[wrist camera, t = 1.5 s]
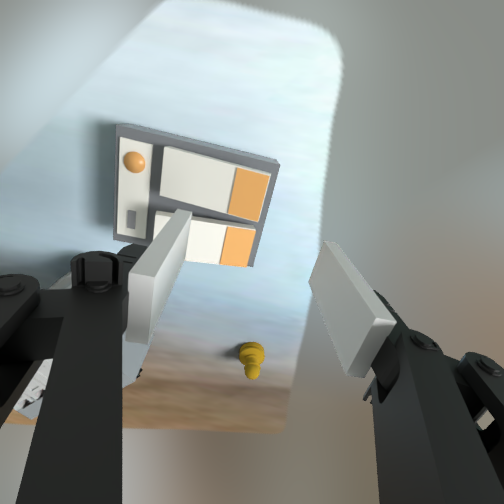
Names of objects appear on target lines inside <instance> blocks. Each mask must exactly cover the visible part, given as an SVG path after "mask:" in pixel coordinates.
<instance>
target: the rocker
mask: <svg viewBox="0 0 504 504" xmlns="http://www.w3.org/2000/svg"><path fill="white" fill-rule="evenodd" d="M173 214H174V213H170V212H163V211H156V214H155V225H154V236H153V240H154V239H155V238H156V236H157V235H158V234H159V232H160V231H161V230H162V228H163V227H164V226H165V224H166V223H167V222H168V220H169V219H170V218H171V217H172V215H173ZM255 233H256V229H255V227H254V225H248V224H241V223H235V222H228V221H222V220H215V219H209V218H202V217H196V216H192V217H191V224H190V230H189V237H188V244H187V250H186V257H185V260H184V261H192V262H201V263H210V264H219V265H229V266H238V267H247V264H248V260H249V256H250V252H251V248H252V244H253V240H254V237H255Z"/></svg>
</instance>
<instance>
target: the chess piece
mask: <svg viewBox="0 0 504 504" xmlns="http://www.w3.org/2000/svg"><path fill="white" fill-rule="evenodd" d="M264 357H265V356H264V349H263V347H262V346H261V345H260V344H259V343H256V342H248V343H245V344H244V345H242V346H241V348H240V352H239V359H240V362H241V363H242V364H243V365H245V367H244V370H245V375H246V376H247V378H249V379H252V380H253V379H256V378H257V377H258V376H259V373H260V364H261V363H262V362H263V361H264Z"/></svg>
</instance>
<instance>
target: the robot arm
mask: <svg viewBox="0 0 504 504" xmlns="http://www.w3.org/2000/svg"><path fill="white" fill-rule="evenodd" d="M191 217H192V212H190V211H186V210H181V209H177V210H176V211H175V213H174V214H173V215H172V217H171V218H170V219H169V220H168V222H167V223H166V224H165V226H164V227H163V228H162V230H161V231H160V232H159V234H158V235H157V236H156V238H155V239H154V240H153V241H152V243H151V244H150V245H149V247H148V246H143V245H138V244H131V245H128V246H126V247H123V248H122V249H121V250H120V251H119V252H118V253H117V254H114V253H110V252H104V251H90V252H86V253H81V254H79V255H77V256H75V257H74V258H73V259H72V260H71V281H72V287H71V288H70V289H47V290H40V286H39V282H38V280H37V279H35V278H34V277H32V276H28V275H23V274H7V275H1V276H0V428H1V426H2V425H3V423H4V422H5V420H6V419H7V417H8V416H9V414H10V413H11V411H12V409H13V408H14V406H15V405H16V403H17V402H18V400H19V399H20V397H21V395H22V394H23V392H24V391H25V389H26V388H27V386H28V385H29V383H30V381H31V380H32V378H33V377H34V375H35V374H36V372H37V371H38V369H39V367H40V366H41V364H42V363H43V361H44V360H46V359H53V361H52V365H51V369H50V372H49V376H48V380H47V384H46V388H45V392H44V396H43V399H42V403H41V407H40V411H39V415H38V419H37V423H36V426H35V430H34V434H33V438H32V442H31V446H30V450H29V454H28V457H27V461H26V465H25V469H24V473H23V477H22V481H21V484H20V488H19V492H18V496H17V500H16V504H122V335H123V334H124V332H125V330H126V334H125V341H127V342H133V343H140V344H146V345H148V344H149V341H150V339H151V337H152V334H153V332H154V330H155V327H156V325H157V323H158V320H159V318H160V316H161V313H162V311H163V309H164V306H165V304H166V302H167V300H168V297H169V295H170V293H171V290H172V288H173V286H174V283H175V281H176V279H177V276H178V274H179V272H180V269H181V267H182V265H183V262H184V260H185V257H186V250H187V244H188V237H189V230H190V224H191ZM309 285H310V287H311V290H312V292H313V295H314V297H315V300H316V303H317V305H318V307H319V310H320V312H321V315H322V318H323V320H324V323H325V325H326V327H327V330H328V333H329V335H330V338H331V340H332V343H333V345H334V348H335V350H336V353H337V355H338V358H339V360H340V363H341V365H342V368H343V370H344V373H345V375H348V376H354V377H361V378H365V375H366V374H367V372H368V371H369V369H370V367H372V369H373V371H374V373H375V375H376V376H375V378H374V379H373V381H372V382H371V384H370V386H369V387H368V389H367V391H366V392H365V394H364V397H363V400H364V401H366V400H367V398H368V396H370V395H372V400H371V402H370V403H371V404H372V406H373V419H374V433H375V445H376V446H375V447H376V461H377V474H378V487H379V501H380V504H504V369H503V368H502V367H501V366H499V365H498V364H497V363H495V361H494V360H492V359H490V358H488V357H487V356H484V355H481V354H477V353H475V352H468V353H466V354H465V355H464V356H463V358H462V359H461V360H460V361H458V360H456V359H453V358H451V357H448V356H446V355H444V354H443V352H442V350H441V348H440V347H439V345H438V344H437V343H436V342H434V341H433V340H432V339H431V338H429V337H428V336H426V335H424V334H422V333H420V332H418V331H414V330H411V329H409V328H408V327H407V326H406V324H405V323H404V322H403V321H402V319H401V318H400V317H399V316H398V315H397V313H395V311H394V309H393V308H392V307H391V306H390V304H389V303H388V302H387V301H386V299H385V298H384V297H383V296H381V295H380V294H379V293H378V292H376V291H375V290H372V289H371V287H370V286H369V285H368V283H367V282H366V281H365V279H364V278H363V277H362V275H361V274H360V273H359V271H358V270H357V269H356V267H355V266H354V265H353V264H352V262H351V261H350V260H349V258H348V257H347V256H346V254H345V253H344V252H343V251H342V249H341V248H340V246H339V245H338V244H337V243H333V242H329V241H324V242H323V245H322V247H321V250H320V253H319V255H318V258H317V260H316V263H315V266H314V268H313V271H312V274H311V276H310V279H309ZM487 410H488V411H489V412H490V413H491V415H492V416H493V417H494V419H495V420H494V421H493V422H492V423H491V424H490V425H489V426H488V427H487V428H486V429H484V430H482V429H481V428H480V426H479V425H478V424H477V421H478V420H479V419H480V418H481V417H482V416H483V415H484V413H485V412H486V411H487Z"/></svg>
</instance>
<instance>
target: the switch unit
mask: <svg viewBox="0 0 504 504" xmlns="http://www.w3.org/2000/svg"><path fill="white" fill-rule="evenodd" d="M165 146H171V147H175V148H179V149H182V150H186V151H190V152H194V153H197V154H201V155H205V156H209V157H212V158H216V159H220V160H223V161H227V162H231V163H235V164H238V165H242V166H246V167H250V168H253V169H257V170H261V171H265V172H268V173H271V176H270V180H269V184H268V187H267V191H266V195H265V199H264V203H263V207H262V211H261V214H260V218H259V221H258V222H255V221H251V220H247V219H244V218H240V217H236V216H233V215H229V214H226V213H222V212H218V211H215V210H211V209H207V208H204V207H200V206H196V205H193V204H189V203H186V202H182V201H178V200H175V199H171V198H167V197H164V196H160V186H161V176H162V165H163V155H164V147H165ZM279 168H280V164H279V163H278V161H277V160H275V159H271V158H267V157H263V156H259V155H255V154H251V153H247V152H243V151H239V150H235V149H231V148H227V147H223V146H219V145H215V144H211V143H207V142H203V141H199V140H195V139H191V138H187V137H183V136H179V135H174V134H170V133H166V132H162V131H158V130H154V129H150V128H146V127H142V126H138V125H134V124H116V148H115V189H114V229H113V240H117V241H122V242H128V243H133V244H138V245H143V246H148V247H149V245H150V244H151V243H152V241H153V236H154V225H155V214H156V211H163V212H170V213H175V211H176V210H177V209H181V210H186V211H190V212H192V216H196V217H202V218H209V219H215V220H222V221H228V222H235V223H241V224H248V225H254V227H255V229H256V233H255V237H254V240H253V244H252V248H251V252H250V256H249V260H248V264H247V266H250V267H253V264H254V260H255V257H256V253H257V249H258V245H259V242H260V238H261V234H262V231H263V227H264V223H265V219H266V216H267V212H268V208H269V205H270V201H271V197H272V194H273V190H274V186H275V182H276V179H277V175H278V171H279Z"/></svg>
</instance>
